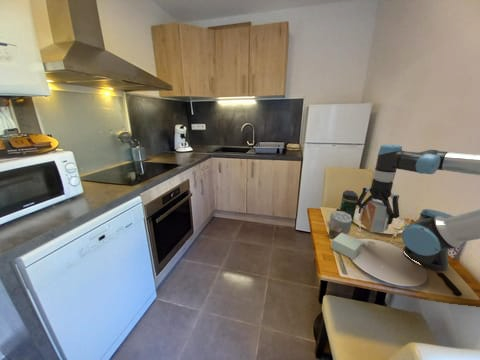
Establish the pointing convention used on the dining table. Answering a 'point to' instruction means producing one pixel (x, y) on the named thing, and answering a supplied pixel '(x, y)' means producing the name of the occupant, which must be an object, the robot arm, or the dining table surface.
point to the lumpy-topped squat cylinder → (341, 220)
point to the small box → (374, 216)
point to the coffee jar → (349, 203)
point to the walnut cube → (334, 232)
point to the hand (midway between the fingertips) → (372, 224)
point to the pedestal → (346, 245)
